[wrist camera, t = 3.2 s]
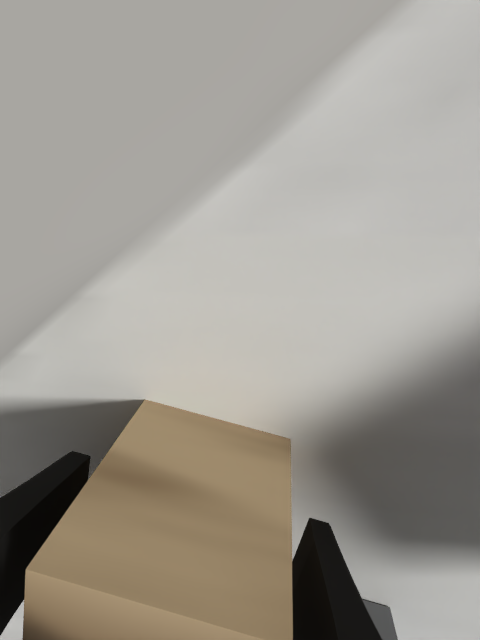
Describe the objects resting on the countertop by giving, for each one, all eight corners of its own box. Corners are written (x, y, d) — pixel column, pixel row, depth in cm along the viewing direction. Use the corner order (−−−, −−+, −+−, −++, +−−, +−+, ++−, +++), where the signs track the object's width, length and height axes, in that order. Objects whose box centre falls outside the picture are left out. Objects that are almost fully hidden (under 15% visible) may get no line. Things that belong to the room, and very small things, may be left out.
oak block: (254, 545, 14) (231, 786, 8) (127, 509, 14) (19, 720, 8) (290, 438, 12) (293, 648, 6) (145, 398, 12) (25, 569, 7)
